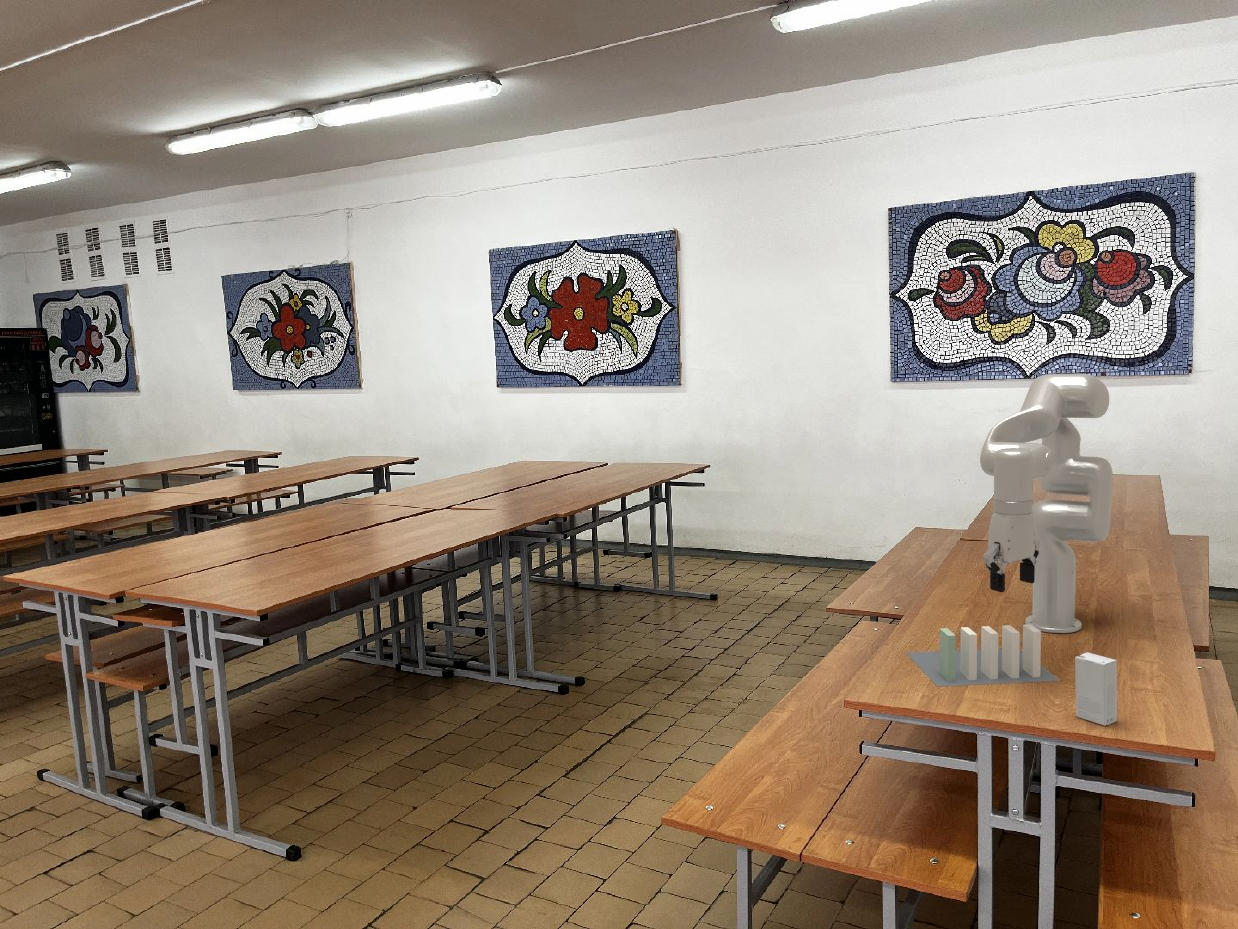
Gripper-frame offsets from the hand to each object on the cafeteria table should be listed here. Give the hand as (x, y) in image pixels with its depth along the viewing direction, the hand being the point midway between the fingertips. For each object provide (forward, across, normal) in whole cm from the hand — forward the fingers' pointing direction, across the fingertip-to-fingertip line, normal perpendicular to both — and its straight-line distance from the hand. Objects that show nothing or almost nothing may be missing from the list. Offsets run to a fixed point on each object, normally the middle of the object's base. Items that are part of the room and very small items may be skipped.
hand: (1012, 586), depth 198 cm
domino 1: (+19, +8, -4) cm, 21 cm away
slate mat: (+20, +2, -7) cm, 21 cm away
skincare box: (+20, +7, +24) cm, 31 cm away
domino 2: (+19, +5, -2) cm, 20 cm away
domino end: (+19, +12, -7) cm, 24 cm away
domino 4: (+19, -3, +2) cm, 20 cm away
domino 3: (+19, +1, 0) cm, 19 cm away
